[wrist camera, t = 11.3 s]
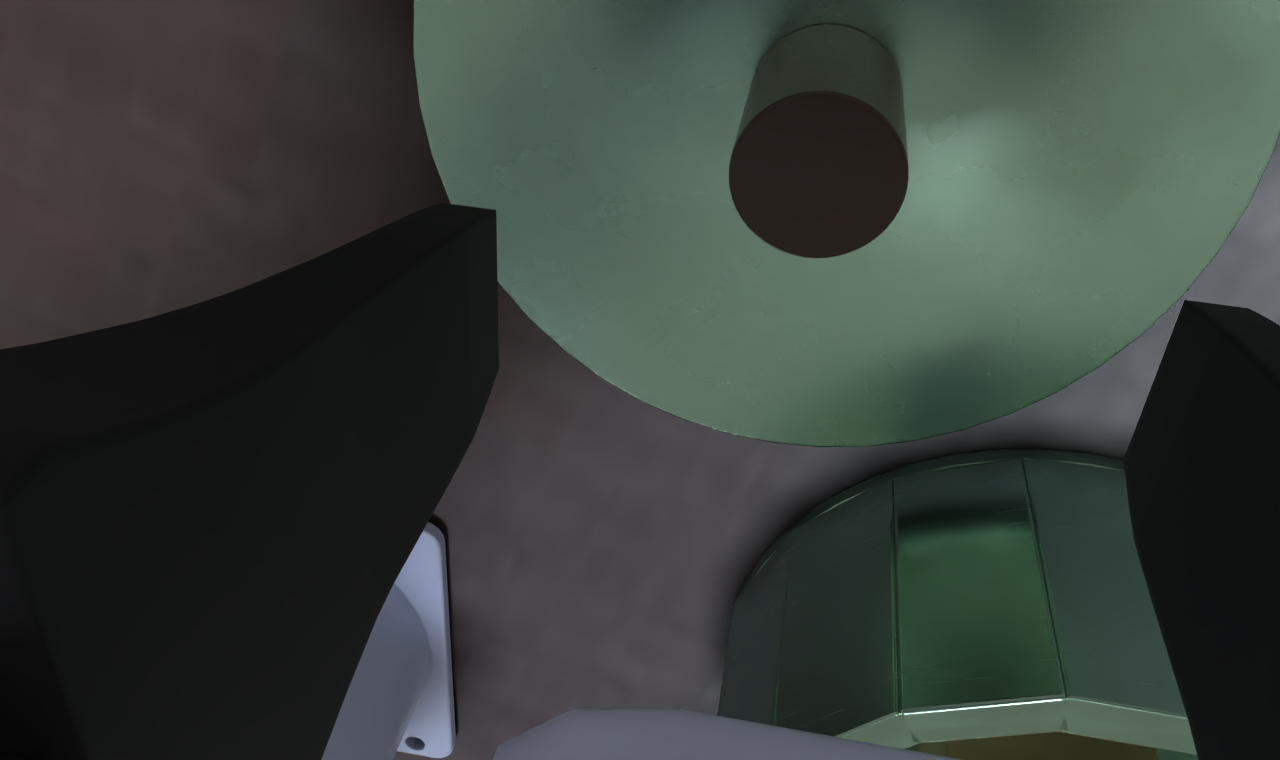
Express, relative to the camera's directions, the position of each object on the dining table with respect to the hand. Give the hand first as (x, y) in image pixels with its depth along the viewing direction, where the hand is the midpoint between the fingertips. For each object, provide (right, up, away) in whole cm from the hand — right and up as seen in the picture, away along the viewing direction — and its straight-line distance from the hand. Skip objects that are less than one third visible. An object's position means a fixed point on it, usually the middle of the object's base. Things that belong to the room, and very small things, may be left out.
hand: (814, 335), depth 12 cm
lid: (+1, +4, +6) cm, 8 cm away
